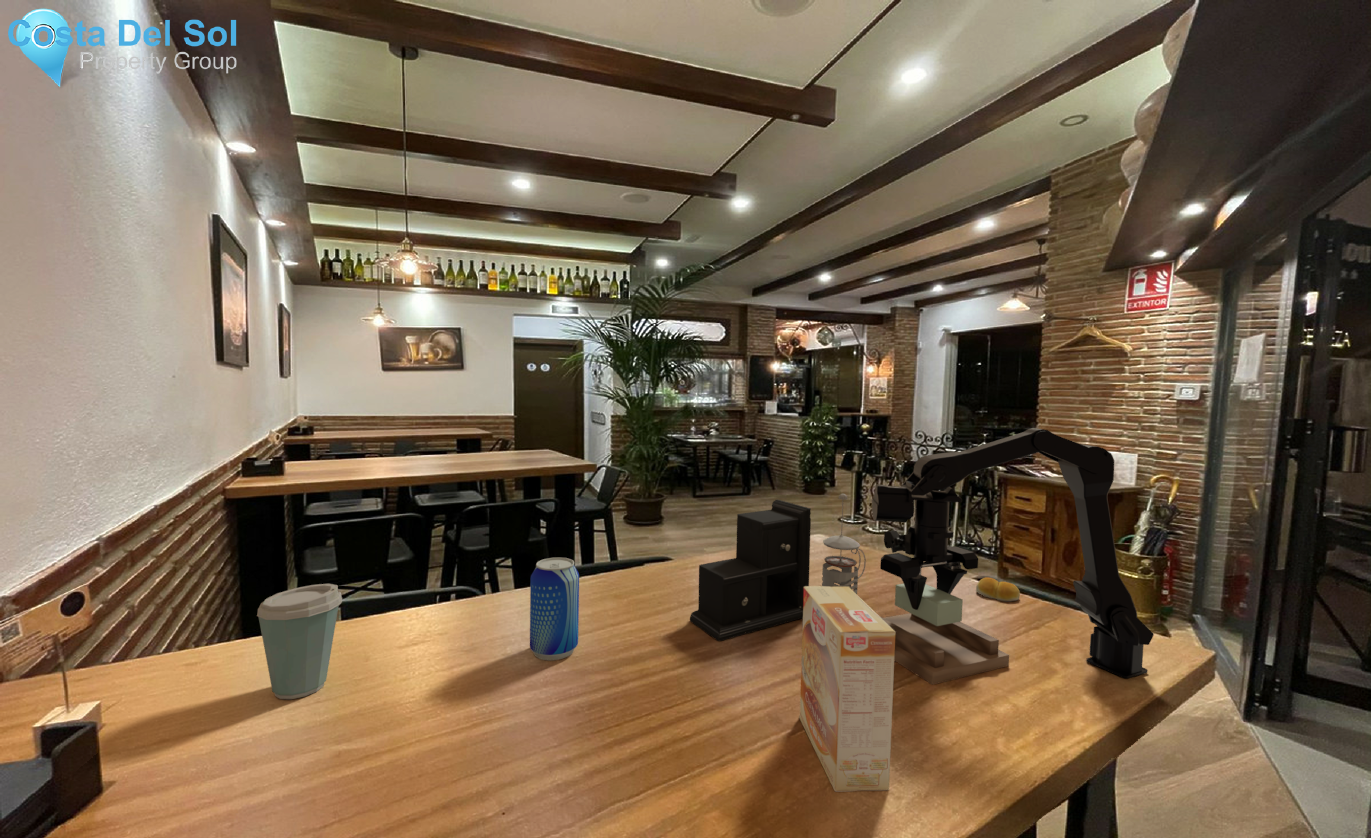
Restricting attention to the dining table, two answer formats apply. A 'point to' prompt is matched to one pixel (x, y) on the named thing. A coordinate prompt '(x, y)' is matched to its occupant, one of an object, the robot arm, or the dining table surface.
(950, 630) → the brown wooden stand
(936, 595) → the pale green block
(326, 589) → the disposable coffee cup
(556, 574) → the beer can
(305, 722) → the dining table surface
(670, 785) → the dining table surface
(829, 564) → the french press
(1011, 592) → the bread roll
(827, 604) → the coffeecake box
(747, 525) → the black drawer cabinet
